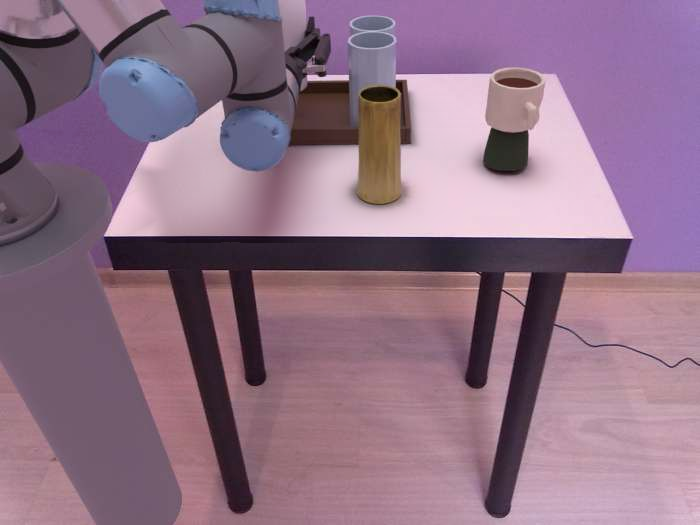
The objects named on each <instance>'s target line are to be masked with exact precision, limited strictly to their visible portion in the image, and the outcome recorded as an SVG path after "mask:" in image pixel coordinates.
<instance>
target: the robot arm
mask: <svg viewBox="0 0 700 525" xmlns="http://www.w3.org/2000/svg"><path fill="white" fill-rule="evenodd" d="M203 11H204V12H205V15H204V16H202V17H199V18H198V19H196V20H194V21H193V22H191V23H188V24H187V25H185V26H182V27H181V26H180V25H179V24H178V22H177V21H176V19H175V18H174V17H173V14H171V12H170V11H169V9H167V8H166V6H165V4H164V3H163V2H162V1H161V0H0V246H4V245H8V244H11V243H14V242H17V241H19V240H22V239H24V238H26V237H28V236H30V235H32V234H34V233H35V232H37V231H38V230H40V229H41V228H43V227H44V226H45V225H47V224H48V223H49V222H50V221H51V220H52V219H53V217H54V216H55V215H56V213H57V211H58V209H59V198H58V196H57V193H56V191H55V189H54V187H53V186H52V184H51V183H50V182H49V181H48V180H47V179H46V178H45V177H44V176H43V175H42V173H41V172H40V171H39V170H38V168H37V167H36V166H35V165H34V164H33V163H34V162H33V161H32V160H31V159H30V158H29V156H27V154H26V153H25V150H24V148H23V146H22V143H21V140H20V138H19V136H18V134H17V130H19V129H20V128H22V127H24V126H26V125H27V124H29V123H31V122H33V121H35V120H37V119H39V118H41V117H42V116H44V115H47V114H48V113H51V112H52V111H54V110H56V109H58V108H61V107H63V106H64V105H66V104H68V103H70V102H73V101H75V100H76V99H78V98H80V97H81V96H83V95H84V93H86V92H87V91H89V90H90V89H92V88H93V87H94V86H95V85H96V83H98V94H99V99H100V100H101V101H102V102H103V103H104V105H105V113H106V114H107V116H108V118H109V119H110V120H111V122H112V123H113V124H114V125H115V126H116V127H117V128H118V129H119V130H120V131H121V132H122V133H124V134H125V135H126V136H129V137H130V138H132V139H134V140H137V141H139V142H144V143H156V142H159V141H162V140H165V139H167V138H168V137H170V136H172V135H174V134H175V133H176V132H178V131H180V130H182V129H183V128H188V127H190V126H191V125H193V123H195V121H196V120H197V119H198V118H200V117H201V116H202V115H204V114H205V113H206V112H207V111H209V110H211V108H213V107H214V106H216V105H217V104H218V103H220V102H221V103H222V110H223V114H224V118H223V120H222V122H221V126H220V133H219V144H220V148H221V151H222V153H223V154H224V156H225V157H226V159H227V160H228V161H230V163H232V164H233V165H234V166H236V167H237V168H240V169H242V170H245V171H250V172H264V171H267V170H270V169H273V168H274V167H276V166H277V165H278V164H280V162H281V161H282V159H283V158H284V156H285V155H286V154H285V153H286V151H287V149H288V146H290V145H289V142H290V140H291V136H290V134H291V129H292V124H293V119H294V115H295V110H296V105H297V101H298V97H299V93H300V89H301V84H302V80H303V79H304V78H305V77H306V76H307V77H308V74H313V75H317V77H318V78H324V77H327V64H328V60H329V58H330V55H331V52H332V45H331V44H332V43H331V42H332V41H331V34H329V33H323V34H322V35H321V29H320V27H316V23H315V16H309V17H308V20H307V29H306V38H305V39H304V40H302V41H301V42H300V43H299V44H298V45H297V46H295V47H290V48H289V49H288V50H286V51H285V52H284V42H283V31H282V18H281V16H280V10H279V4H278V0H203ZM308 61H309V62H308ZM306 62H307V64H306ZM103 66H104V67H105V69H104V70H103ZM102 71H103V72H102Z"/></svg>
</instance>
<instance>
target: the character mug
mask: <svg viewBox="0 0 700 525" xmlns="http://www.w3.org/2000/svg"><path fill="white" fill-rule="evenodd" d="M488 82H489V83H488V88H487V89H488V90H487V98H486V108H485V115H484V116H485V122H486V124H487V125H488V126H489V127H491V128H490V129H489V133H488V137H487V141H486V144H485V148H484V152H483V159H482V162H483V164H485V166H486V167H487V168H490V169H492V170H496V171H503V172H504V171H505V172H507V171H509V172H511V171H519V170H524V169H525V168H526V167H527V166H528V164H529V148H530V147H529V142H530V141H529V140H530V133H529V131H533V129H535V126H536V125H537V124H538V123H539V121H540V108H541V104H542V102H543V99H544V93H545V86H546V77H545V75H544V74H542V73H541V72H539V71H536V70H534V69H531V68H525V67H516V66H515V67H504V68H503V67H502V68H500V69H496V70H495V71H493V72H492V73H491V74H490V77H489V81H488Z"/></svg>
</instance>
